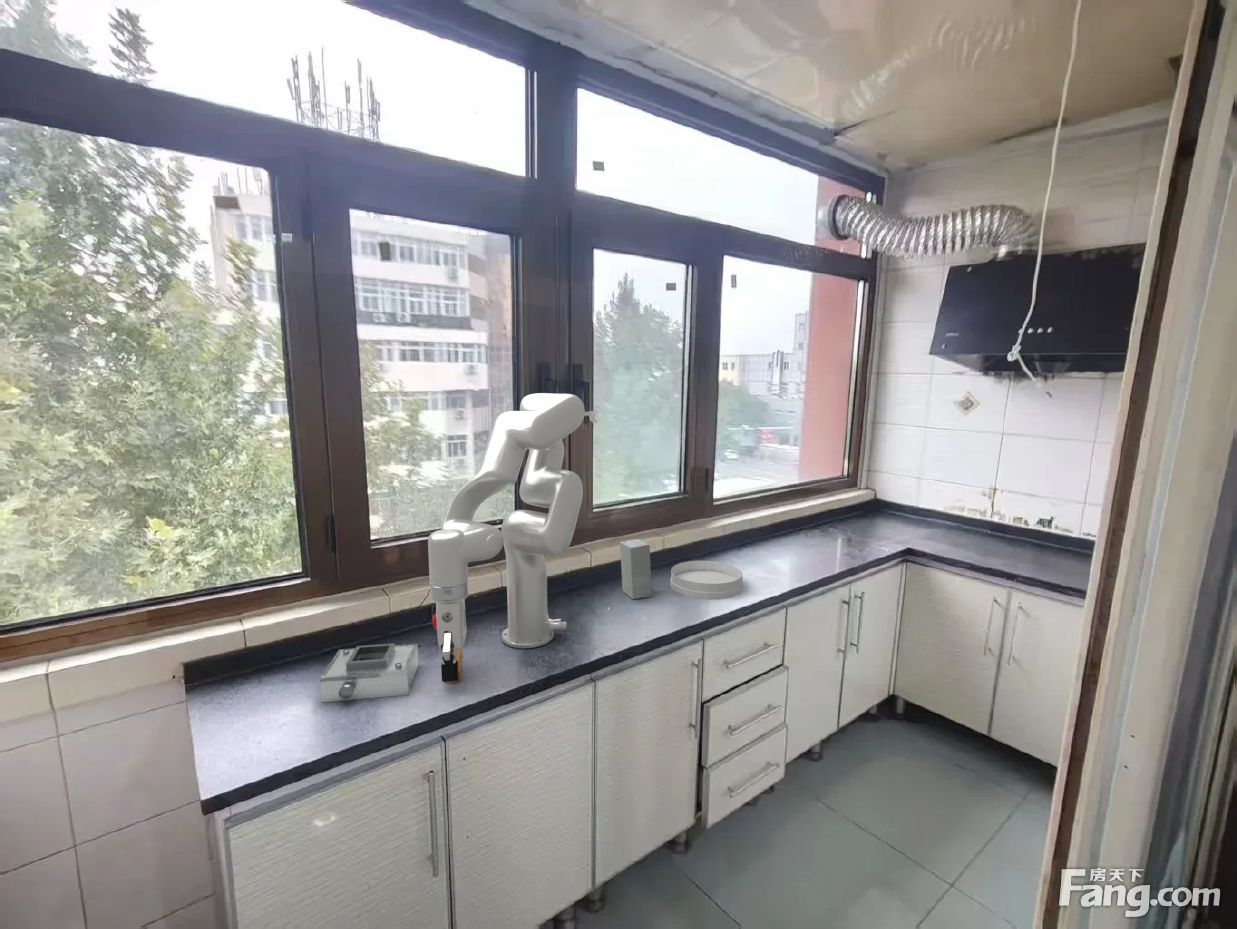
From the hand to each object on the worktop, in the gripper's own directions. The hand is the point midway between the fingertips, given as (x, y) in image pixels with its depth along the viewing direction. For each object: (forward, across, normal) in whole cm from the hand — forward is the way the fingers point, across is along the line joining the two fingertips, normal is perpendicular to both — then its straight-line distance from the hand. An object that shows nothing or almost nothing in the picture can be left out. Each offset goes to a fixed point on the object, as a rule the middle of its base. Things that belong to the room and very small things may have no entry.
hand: (452, 670), depth 117 cm
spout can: (+2, 0, 0) cm, 2 cm away
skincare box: (+2, +41, -48) cm, 63 cm away
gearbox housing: (+2, +1, +16) cm, 16 cm away
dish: (+2, +44, -71) cm, 84 cm away
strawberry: (+2, +19, +3) cm, 19 cm away
